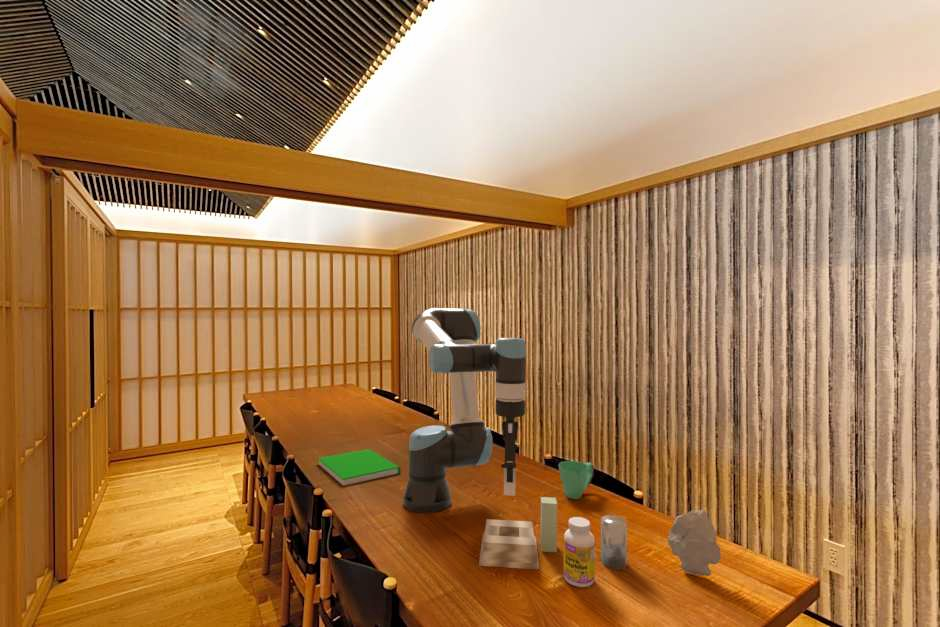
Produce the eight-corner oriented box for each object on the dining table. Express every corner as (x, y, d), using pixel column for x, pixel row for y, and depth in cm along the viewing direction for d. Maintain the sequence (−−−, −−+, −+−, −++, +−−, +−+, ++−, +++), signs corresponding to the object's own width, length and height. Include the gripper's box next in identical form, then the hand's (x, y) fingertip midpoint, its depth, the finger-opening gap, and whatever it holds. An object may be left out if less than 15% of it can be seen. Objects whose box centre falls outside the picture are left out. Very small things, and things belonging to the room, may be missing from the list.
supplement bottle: (559, 582, 94) (559, 523, 94) (569, 567, 99) (569, 512, 100) (589, 592, 90) (589, 531, 90) (597, 577, 96) (598, 519, 96)
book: (342, 487, 147) (342, 478, 147) (317, 465, 170) (317, 458, 170) (400, 474, 161) (400, 466, 161) (370, 455, 183) (370, 448, 183)
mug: (575, 504, 134) (575, 472, 134) (552, 494, 142) (552, 464, 142) (603, 494, 143) (604, 464, 143) (580, 485, 151) (580, 456, 151)
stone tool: (665, 569, 99) (665, 504, 99) (669, 562, 102) (669, 499, 102) (719, 588, 92) (719, 518, 92) (722, 580, 95) (721, 512, 95)
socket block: (479, 565, 100) (479, 544, 100) (482, 536, 114) (483, 517, 114) (539, 569, 98) (539, 547, 98) (535, 539, 112) (535, 520, 112)
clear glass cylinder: (603, 568, 99) (604, 525, 99) (598, 555, 105) (598, 514, 105) (629, 570, 98) (629, 526, 99) (622, 556, 104) (623, 515, 104)
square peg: (541, 551, 106) (541, 503, 107) (540, 543, 110) (540, 496, 110) (556, 552, 106) (557, 503, 106) (555, 544, 110) (555, 497, 110)
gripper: (527, 409, 94) (526, 505, 94) (523, 391, 119) (523, 467, 118) (493, 408, 95) (492, 504, 94) (497, 391, 120) (496, 466, 119)
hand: (509, 484), depth 106 cm, fingers open, 13 cm apart
